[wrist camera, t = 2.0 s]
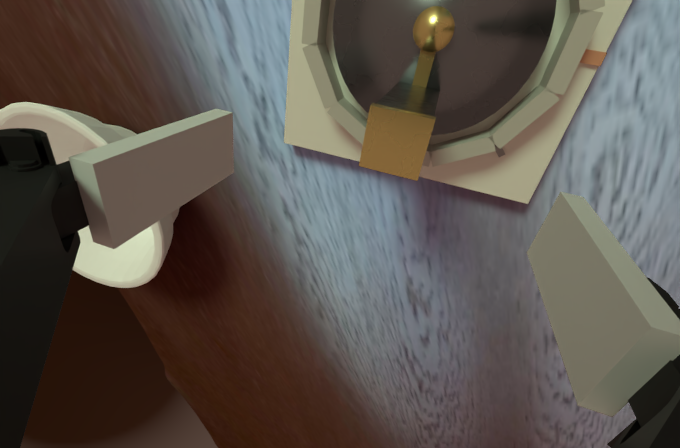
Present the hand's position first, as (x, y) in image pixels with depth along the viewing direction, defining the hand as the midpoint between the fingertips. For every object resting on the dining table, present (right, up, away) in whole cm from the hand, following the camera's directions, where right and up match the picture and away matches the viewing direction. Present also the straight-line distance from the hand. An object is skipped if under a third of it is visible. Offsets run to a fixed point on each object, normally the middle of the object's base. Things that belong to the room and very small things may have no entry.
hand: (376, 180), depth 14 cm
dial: (+5, +12, +10) cm, 16 cm away
